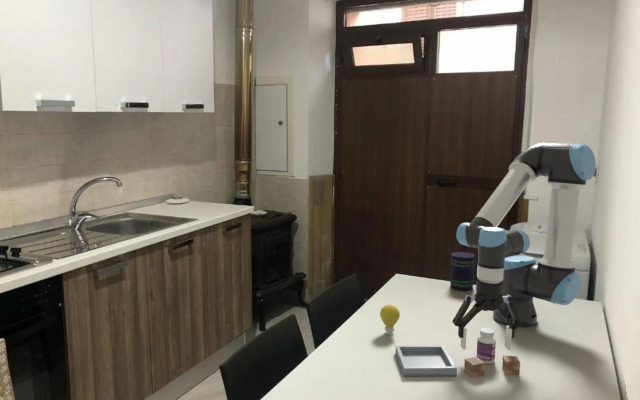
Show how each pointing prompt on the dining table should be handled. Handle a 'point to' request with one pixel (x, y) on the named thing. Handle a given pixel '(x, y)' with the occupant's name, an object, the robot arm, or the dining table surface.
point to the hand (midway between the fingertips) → (485, 347)
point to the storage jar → (462, 271)
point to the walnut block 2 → (511, 365)
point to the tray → (425, 361)
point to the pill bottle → (486, 346)
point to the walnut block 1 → (474, 367)
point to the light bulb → (389, 317)
